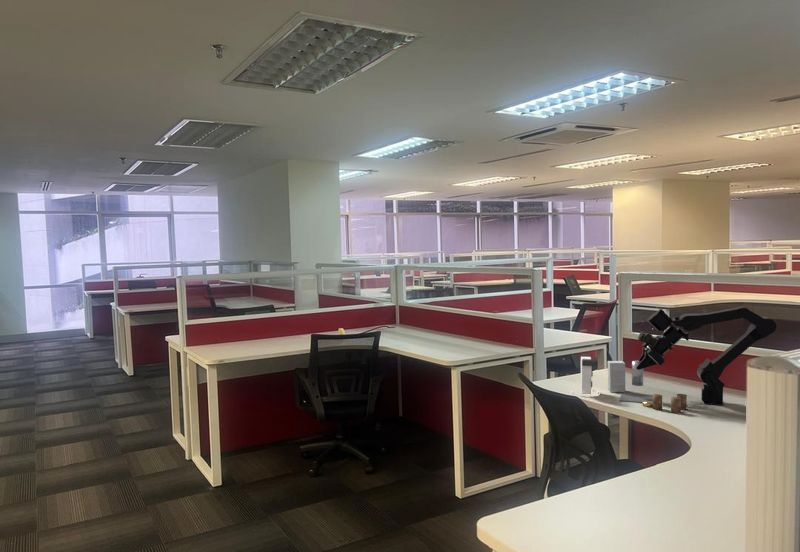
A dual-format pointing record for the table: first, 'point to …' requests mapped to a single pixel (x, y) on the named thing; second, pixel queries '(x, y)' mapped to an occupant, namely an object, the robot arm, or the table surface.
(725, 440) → the table surface
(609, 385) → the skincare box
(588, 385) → the narrow upright pillar
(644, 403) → the nut
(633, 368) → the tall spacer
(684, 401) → the spacer
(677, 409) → the spacer
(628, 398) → the mat
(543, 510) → the table surface
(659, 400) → the spacer
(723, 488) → the table surface
